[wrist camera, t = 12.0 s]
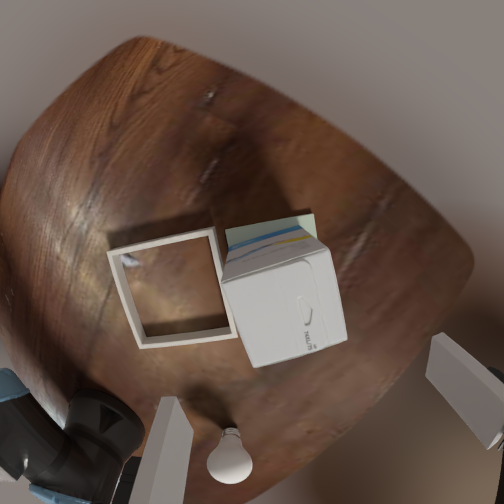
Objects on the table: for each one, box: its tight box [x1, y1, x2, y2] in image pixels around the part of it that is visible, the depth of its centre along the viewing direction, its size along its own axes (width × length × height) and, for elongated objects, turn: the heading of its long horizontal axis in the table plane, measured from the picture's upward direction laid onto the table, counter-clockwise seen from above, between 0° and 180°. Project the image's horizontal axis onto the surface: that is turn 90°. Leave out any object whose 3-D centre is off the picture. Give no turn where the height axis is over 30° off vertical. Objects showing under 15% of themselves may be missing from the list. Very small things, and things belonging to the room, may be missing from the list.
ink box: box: [221, 225, 347, 368], centre depth 26 cm, size 9×8×12 cm
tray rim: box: [107, 226, 238, 349], centre depth 32 cm, size 13×13×2 cm
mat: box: [225, 213, 317, 247], centre depth 32 cm, size 10×11×1 cm
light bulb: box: [207, 428, 252, 484], centre depth 33 cm, size 7×7×11 cm
